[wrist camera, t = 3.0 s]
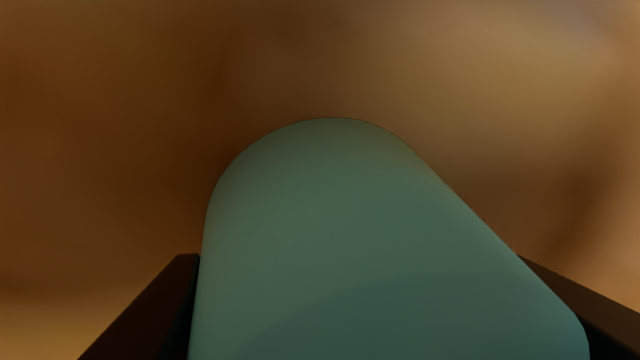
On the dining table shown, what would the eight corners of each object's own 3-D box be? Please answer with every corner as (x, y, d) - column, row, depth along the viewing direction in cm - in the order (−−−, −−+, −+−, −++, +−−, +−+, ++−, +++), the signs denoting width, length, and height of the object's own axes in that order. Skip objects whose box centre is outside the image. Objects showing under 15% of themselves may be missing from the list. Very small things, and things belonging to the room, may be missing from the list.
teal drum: (413, 304, 11) (522, 508, 7) (213, 323, 10) (194, 575, 6) (454, 117, 9) (660, 254, 5) (195, 117, 8) (142, 293, 4)
